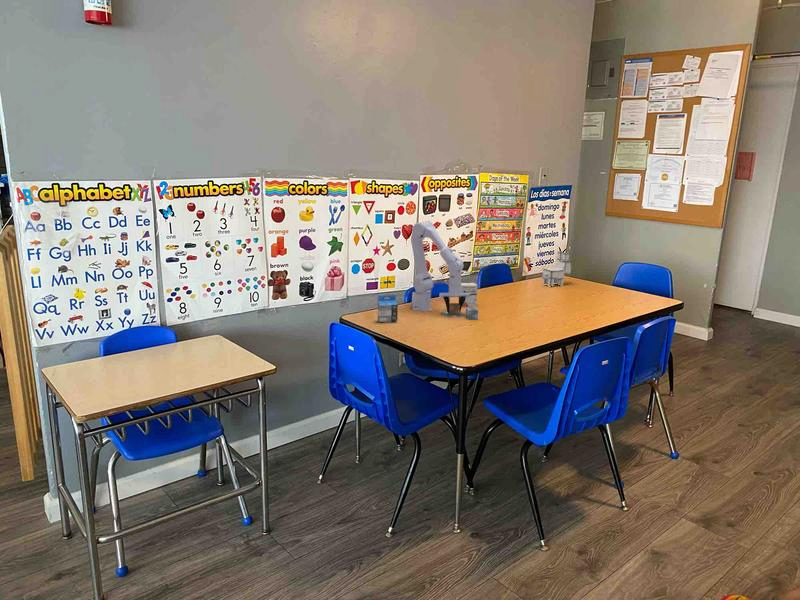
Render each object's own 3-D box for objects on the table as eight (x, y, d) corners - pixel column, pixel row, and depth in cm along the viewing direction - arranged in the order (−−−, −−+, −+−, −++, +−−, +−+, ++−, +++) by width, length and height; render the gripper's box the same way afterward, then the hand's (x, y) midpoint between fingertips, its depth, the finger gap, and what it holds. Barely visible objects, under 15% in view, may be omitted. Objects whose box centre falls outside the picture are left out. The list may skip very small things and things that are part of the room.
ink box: (460, 307, 307) (461, 284, 304) (458, 304, 312) (459, 282, 309) (476, 307, 308) (477, 284, 305) (474, 304, 313) (475, 282, 310)
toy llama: (538, 285, 362) (541, 252, 357) (560, 282, 370) (563, 251, 365) (547, 287, 356) (549, 254, 351) (569, 285, 364) (572, 253, 359)
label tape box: (379, 323, 275) (379, 297, 272) (377, 320, 279) (377, 295, 276) (397, 322, 278) (398, 296, 275) (395, 319, 282) (395, 294, 279)
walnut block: (449, 315, 290) (449, 305, 289) (447, 312, 295) (448, 303, 293) (459, 315, 290) (460, 305, 289) (457, 312, 295) (458, 303, 294)
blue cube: (467, 320, 284) (468, 310, 283) (465, 317, 289) (465, 307, 288) (477, 320, 284) (478, 310, 283) (475, 317, 289) (476, 307, 288)
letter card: (445, 317, 287) (445, 317, 287) (441, 312, 297) (441, 311, 297) (465, 317, 288) (465, 317, 288) (461, 311, 298) (461, 311, 298)
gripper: (441, 286, 284) (440, 313, 288) (471, 286, 286) (469, 313, 289) (439, 283, 291) (438, 309, 294) (468, 283, 293) (466, 309, 296)
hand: (453, 311), depth 292 cm, fingers open, 5 cm apart
